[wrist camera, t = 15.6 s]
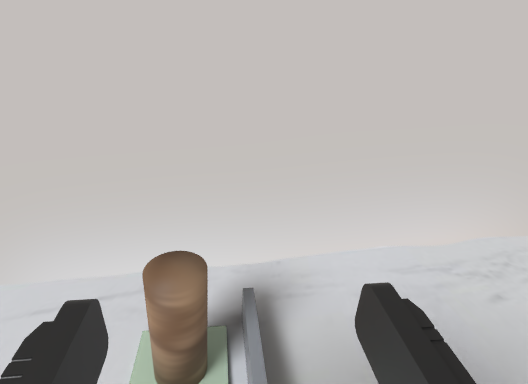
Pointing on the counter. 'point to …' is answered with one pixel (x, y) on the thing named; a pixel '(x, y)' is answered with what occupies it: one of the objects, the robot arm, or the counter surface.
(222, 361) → the pad
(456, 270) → the counter surface
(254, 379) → the low wall
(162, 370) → the walnut canister
